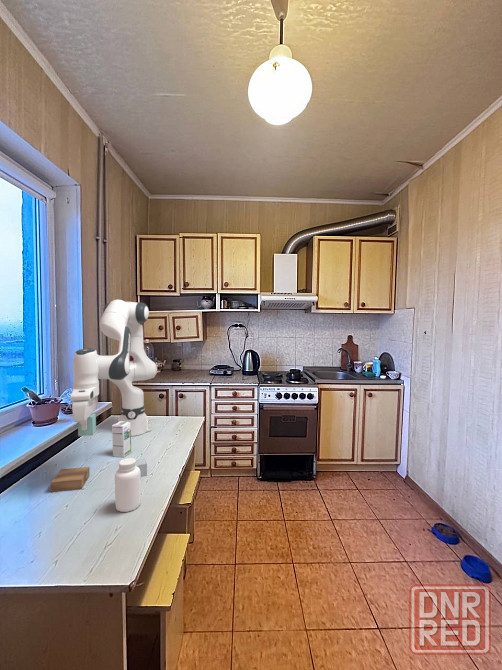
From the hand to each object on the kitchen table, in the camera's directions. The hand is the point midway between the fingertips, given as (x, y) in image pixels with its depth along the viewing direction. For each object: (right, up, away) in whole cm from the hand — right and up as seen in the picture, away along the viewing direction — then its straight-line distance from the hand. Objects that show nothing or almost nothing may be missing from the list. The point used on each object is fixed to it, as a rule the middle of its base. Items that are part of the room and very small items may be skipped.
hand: (87, 426), depth 120 cm
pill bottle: (+22, -21, -16) cm, 35 cm away
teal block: (0, -3, 0) cm, 3 cm away
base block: (-4, -21, -3) cm, 21 cm away
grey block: (+19, -20, +4) cm, 28 cm away
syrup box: (+4, -19, +22) cm, 30 cm away
